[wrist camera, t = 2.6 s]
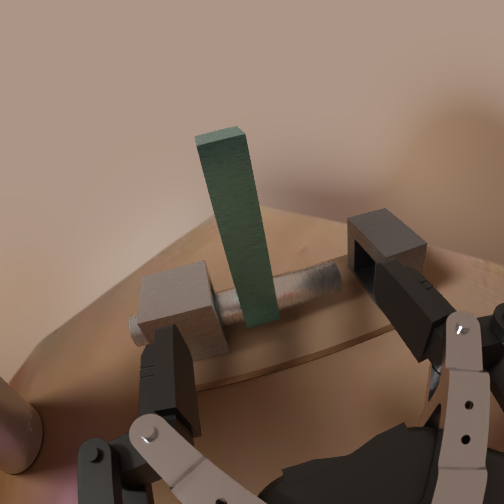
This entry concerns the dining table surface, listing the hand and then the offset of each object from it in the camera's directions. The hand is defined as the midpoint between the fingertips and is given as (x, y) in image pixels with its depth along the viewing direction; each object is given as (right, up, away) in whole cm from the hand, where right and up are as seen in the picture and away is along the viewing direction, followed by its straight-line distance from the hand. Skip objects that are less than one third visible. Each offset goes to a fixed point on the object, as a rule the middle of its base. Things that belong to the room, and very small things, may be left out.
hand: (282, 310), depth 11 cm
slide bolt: (-2, -4, +16) cm, 17 cm away
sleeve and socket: (+2, -3, +17) cm, 18 cm away
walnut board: (+2, -4, +18) cm, 18 cm away
